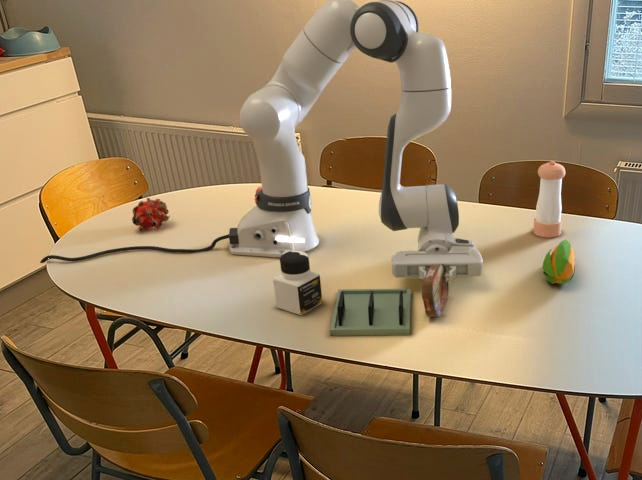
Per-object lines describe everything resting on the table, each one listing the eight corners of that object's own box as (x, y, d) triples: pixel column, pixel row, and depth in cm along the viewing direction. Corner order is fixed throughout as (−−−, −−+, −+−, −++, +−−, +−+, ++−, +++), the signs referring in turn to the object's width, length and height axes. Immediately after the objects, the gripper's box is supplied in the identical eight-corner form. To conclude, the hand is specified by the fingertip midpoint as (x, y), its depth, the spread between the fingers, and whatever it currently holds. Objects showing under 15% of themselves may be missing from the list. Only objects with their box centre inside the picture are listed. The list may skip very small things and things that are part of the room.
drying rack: (330, 335, 149) (328, 314, 147) (338, 294, 165) (337, 274, 163) (409, 334, 150) (408, 313, 147) (410, 294, 166) (410, 273, 163)
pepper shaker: (565, 231, 199) (571, 160, 189) (553, 239, 193) (559, 167, 183) (540, 225, 202) (545, 155, 192) (528, 234, 197) (533, 162, 187)
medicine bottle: (301, 316, 157) (295, 263, 150) (276, 308, 160) (269, 256, 154) (323, 303, 162) (318, 252, 156) (298, 295, 165) (292, 245, 159)
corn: (542, 258, 164) (551, 226, 180) (537, 289, 168) (546, 255, 184) (575, 263, 162) (581, 230, 179) (570, 294, 167) (576, 259, 183)
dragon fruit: (173, 225, 206) (143, 246, 197) (149, 205, 205) (117, 225, 197) (180, 205, 199) (149, 226, 191) (155, 185, 199) (123, 205, 190)
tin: (438, 323, 153) (433, 286, 149) (423, 323, 154) (418, 287, 150) (450, 292, 166) (446, 257, 162) (437, 292, 167) (432, 257, 162)
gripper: (391, 241, 170) (389, 266, 158) (480, 240, 170) (484, 265, 159) (392, 267, 173) (390, 293, 161) (479, 265, 174) (484, 291, 162)
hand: (438, 279), depth 160 cm, fingers closed on tin, 3 cm apart
